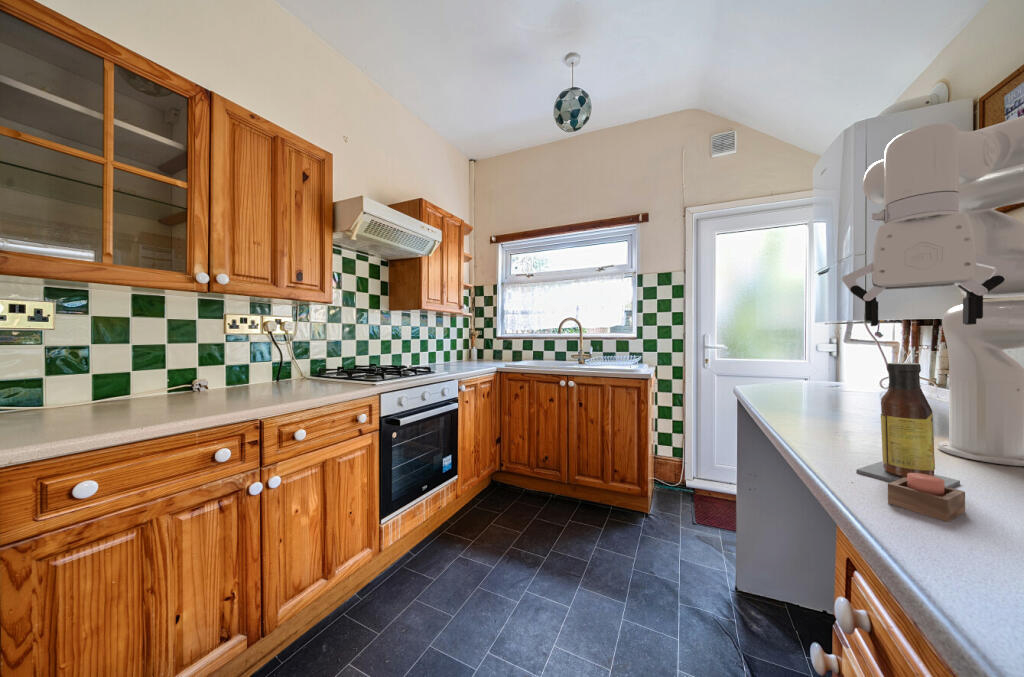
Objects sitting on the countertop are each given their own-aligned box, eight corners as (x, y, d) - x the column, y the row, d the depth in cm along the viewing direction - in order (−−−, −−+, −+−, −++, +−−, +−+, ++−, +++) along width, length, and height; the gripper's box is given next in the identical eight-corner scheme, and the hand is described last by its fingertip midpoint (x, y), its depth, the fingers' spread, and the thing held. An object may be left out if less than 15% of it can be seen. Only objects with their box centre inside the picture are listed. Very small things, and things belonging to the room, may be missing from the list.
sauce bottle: (946, 483, 59) (946, 364, 59) (902, 481, 61) (901, 364, 60) (910, 468, 66) (910, 361, 66) (871, 466, 67) (870, 361, 67)
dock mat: (880, 464, 70) (880, 461, 69) (960, 483, 60) (960, 480, 60) (856, 472, 66) (856, 469, 66) (937, 494, 57) (937, 490, 57)
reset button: (913, 486, 55) (913, 471, 55) (948, 496, 52) (948, 479, 52) (902, 491, 54) (902, 475, 54) (938, 501, 50) (938, 484, 50)
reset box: (906, 495, 57) (906, 476, 57) (965, 512, 51) (965, 491, 51) (887, 503, 54) (887, 483, 54) (947, 521, 49) (947, 500, 49)
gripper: (842, 220, 57) (842, 325, 57) (1026, 190, 46) (1025, 323, 46) (842, 230, 63) (841, 326, 63) (1005, 206, 51) (1005, 324, 51)
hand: (918, 325), depth 54 cm, fingers open, 9 cm apart
